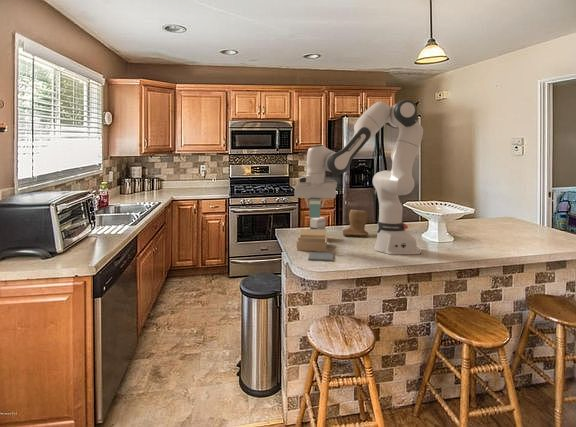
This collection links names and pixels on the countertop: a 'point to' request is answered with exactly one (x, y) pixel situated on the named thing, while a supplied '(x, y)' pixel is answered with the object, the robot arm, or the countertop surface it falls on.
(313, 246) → the carton
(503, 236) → the countertop surface
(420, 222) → the countertop surface
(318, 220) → the ink box
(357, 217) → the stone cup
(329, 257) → the mat
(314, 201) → the tea box
